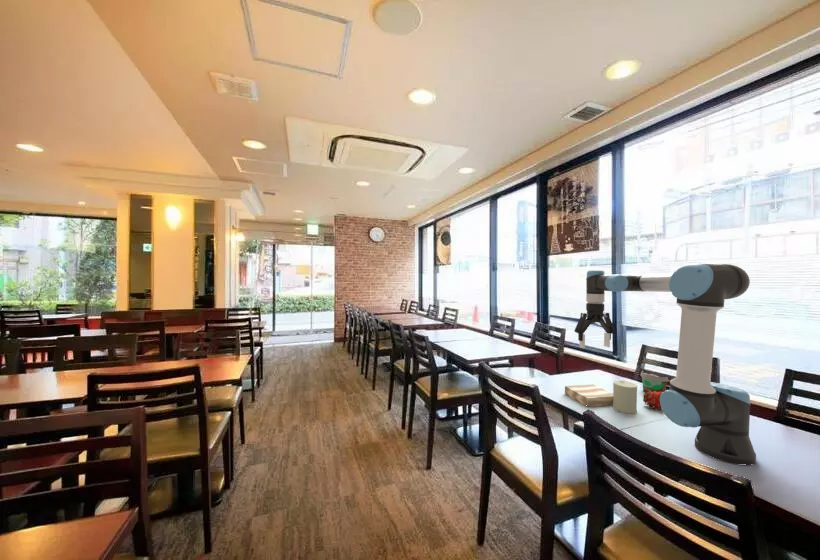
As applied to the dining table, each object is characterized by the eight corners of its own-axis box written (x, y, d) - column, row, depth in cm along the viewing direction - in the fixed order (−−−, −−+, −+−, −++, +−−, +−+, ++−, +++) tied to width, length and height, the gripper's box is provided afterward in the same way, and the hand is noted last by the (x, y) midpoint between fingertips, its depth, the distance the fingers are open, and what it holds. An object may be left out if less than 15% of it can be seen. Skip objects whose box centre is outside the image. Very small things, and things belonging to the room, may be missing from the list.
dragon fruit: (639, 409, 150) (666, 414, 149) (651, 405, 143) (680, 410, 142) (635, 391, 155) (661, 395, 154) (647, 386, 148) (674, 390, 147)
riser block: (617, 404, 152) (617, 395, 152) (587, 406, 149) (587, 398, 149) (592, 392, 168) (592, 384, 168) (564, 393, 165) (565, 386, 165)
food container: (634, 390, 170) (635, 371, 170) (641, 388, 173) (642, 370, 173) (661, 399, 159) (661, 378, 159) (668, 397, 162) (668, 377, 161)
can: (629, 405, 151) (630, 379, 151) (641, 413, 142) (642, 386, 142) (608, 404, 152) (609, 379, 152) (619, 412, 143) (619, 385, 143)
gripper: (611, 301, 161) (610, 344, 161) (566, 302, 156) (566, 346, 156) (624, 303, 153) (623, 347, 154) (577, 303, 148) (577, 349, 149)
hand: (594, 347), depth 155 cm, fingers open, 13 cm apart
